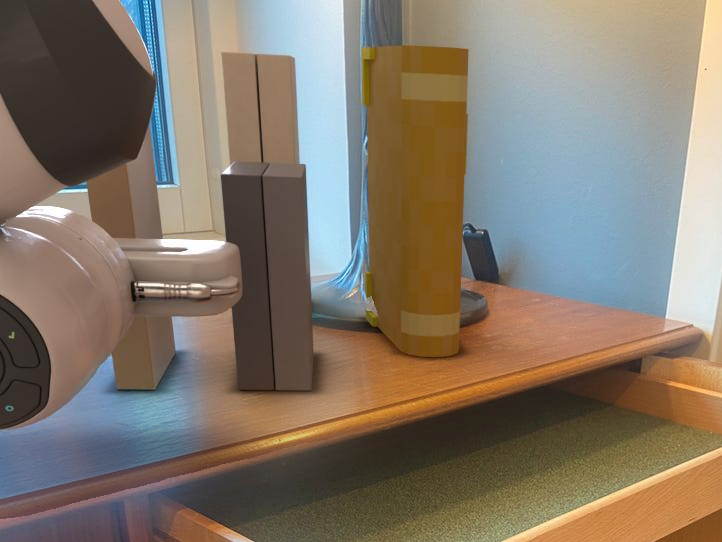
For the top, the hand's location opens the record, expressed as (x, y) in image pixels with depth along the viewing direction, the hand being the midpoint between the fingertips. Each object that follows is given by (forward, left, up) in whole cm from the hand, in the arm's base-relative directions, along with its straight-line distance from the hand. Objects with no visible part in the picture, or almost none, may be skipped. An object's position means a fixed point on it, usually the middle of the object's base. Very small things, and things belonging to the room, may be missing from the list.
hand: (102, 253), depth 68 cm
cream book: (0, +11, -11) cm, 15 cm away
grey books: (+11, +11, -11) cm, 19 cm away
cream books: (+10, +37, -11) cm, 39 cm away
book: (+24, +25, -11) cm, 36 cm away
